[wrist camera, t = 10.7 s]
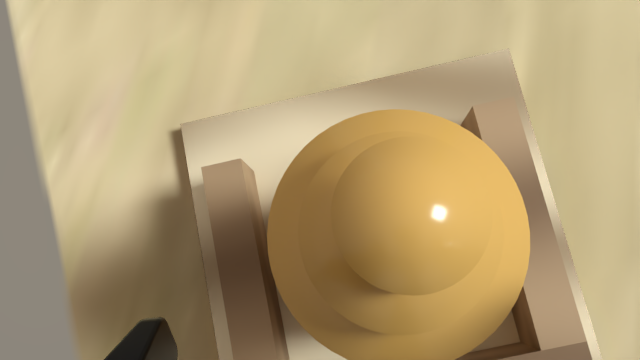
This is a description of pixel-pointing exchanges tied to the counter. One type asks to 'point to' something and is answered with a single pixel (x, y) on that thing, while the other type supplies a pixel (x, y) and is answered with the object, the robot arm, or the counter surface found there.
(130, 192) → the counter surface
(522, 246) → the amber bottle
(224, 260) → the u rest
